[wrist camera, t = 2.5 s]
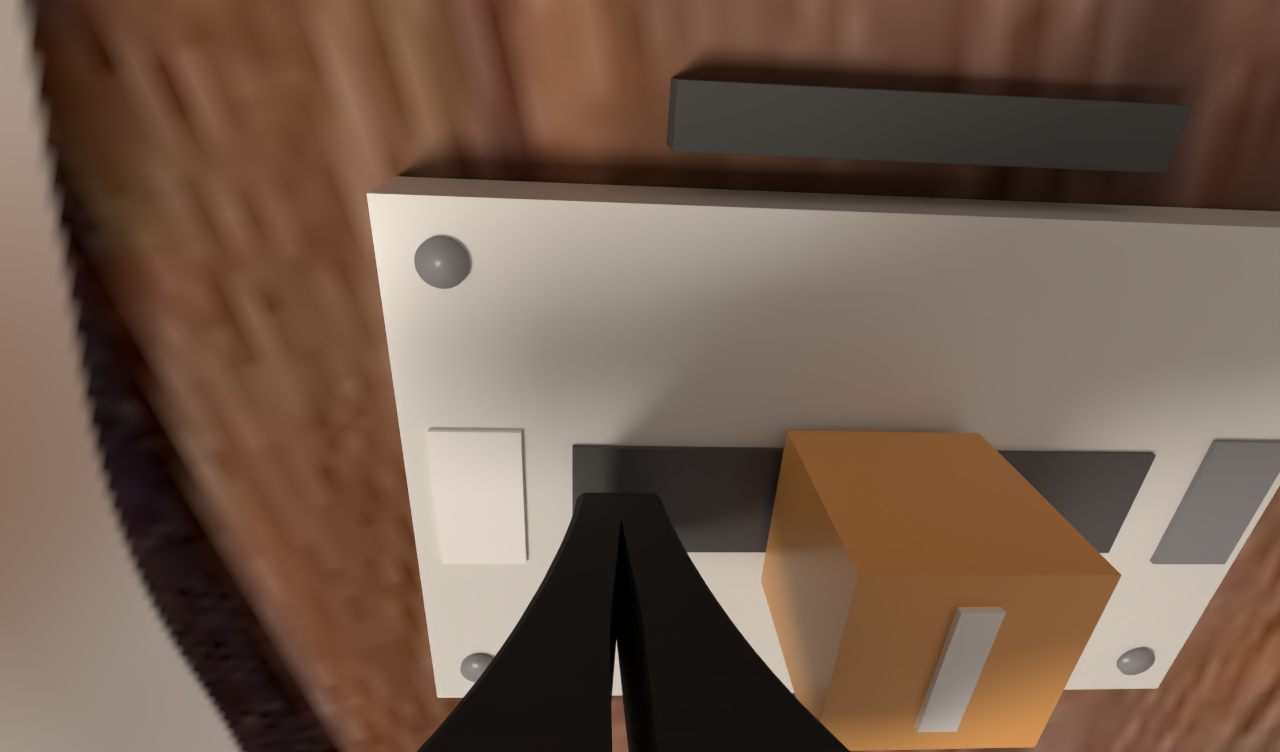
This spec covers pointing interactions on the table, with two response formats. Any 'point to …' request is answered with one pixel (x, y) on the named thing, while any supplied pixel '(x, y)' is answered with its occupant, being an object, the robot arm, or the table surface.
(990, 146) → the twin dark grey rails
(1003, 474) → the orange cube
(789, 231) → the panel
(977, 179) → the table surface
